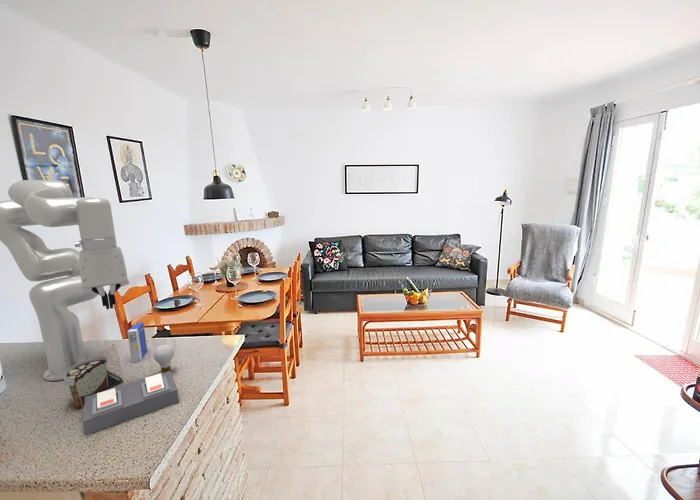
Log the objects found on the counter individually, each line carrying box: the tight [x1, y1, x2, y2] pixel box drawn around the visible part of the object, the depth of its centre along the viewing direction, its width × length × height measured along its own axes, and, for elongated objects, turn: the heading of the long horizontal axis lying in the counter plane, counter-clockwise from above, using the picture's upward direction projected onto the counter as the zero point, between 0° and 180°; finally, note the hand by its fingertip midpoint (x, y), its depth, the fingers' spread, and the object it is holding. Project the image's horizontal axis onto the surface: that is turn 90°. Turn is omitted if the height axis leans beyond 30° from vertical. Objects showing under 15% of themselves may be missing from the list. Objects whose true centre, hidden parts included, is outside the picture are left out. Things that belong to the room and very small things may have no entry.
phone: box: [103, 370, 124, 391], centre depth 104 cm, size 8×1×15 cm
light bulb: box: [153, 343, 175, 374], centre depth 108 cm, size 6×6×10 cm
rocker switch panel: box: [82, 370, 180, 436], centre depth 92 cm, size 12×21×5 cm, turn 127°
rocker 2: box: [144, 372, 165, 394], centre depth 93 cm, size 6×4×1 cm
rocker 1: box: [97, 387, 117, 411], centre depth 87 cm, size 6×4×1 cm
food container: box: [63, 356, 109, 410], centre depth 95 cm, size 12×6×10 cm, turn 178°
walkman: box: [127, 322, 148, 363], centre depth 118 cm, size 8×3×12 cm, turn 15°
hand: (109, 307), depth 93 cm, fingers closed
